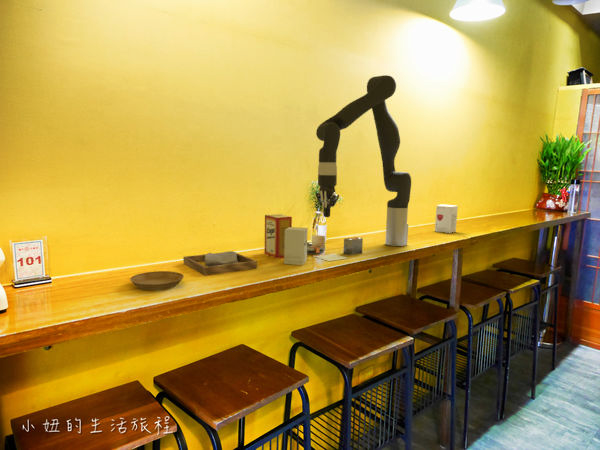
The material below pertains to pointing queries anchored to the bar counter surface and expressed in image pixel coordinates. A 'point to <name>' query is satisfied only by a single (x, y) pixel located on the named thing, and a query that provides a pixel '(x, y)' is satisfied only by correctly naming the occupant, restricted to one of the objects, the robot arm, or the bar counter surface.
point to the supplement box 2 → (446, 218)
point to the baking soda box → (276, 234)
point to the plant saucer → (156, 280)
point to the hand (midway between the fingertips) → (326, 216)
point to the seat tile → (330, 257)
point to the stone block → (220, 258)
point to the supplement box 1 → (295, 246)
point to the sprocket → (316, 244)
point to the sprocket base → (316, 253)
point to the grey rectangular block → (353, 245)
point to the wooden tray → (243, 265)
